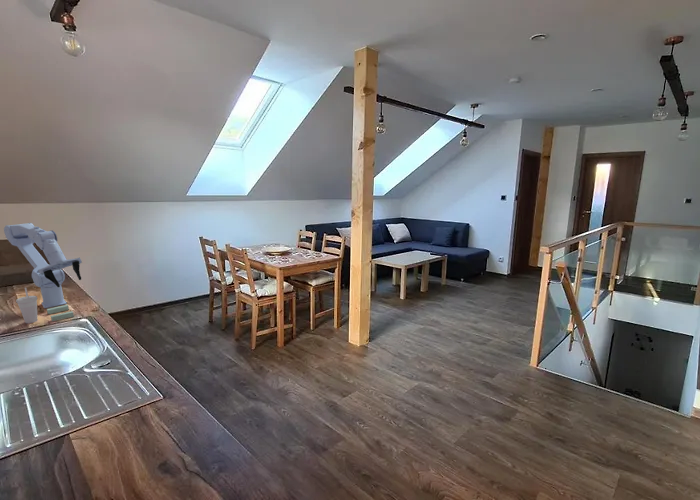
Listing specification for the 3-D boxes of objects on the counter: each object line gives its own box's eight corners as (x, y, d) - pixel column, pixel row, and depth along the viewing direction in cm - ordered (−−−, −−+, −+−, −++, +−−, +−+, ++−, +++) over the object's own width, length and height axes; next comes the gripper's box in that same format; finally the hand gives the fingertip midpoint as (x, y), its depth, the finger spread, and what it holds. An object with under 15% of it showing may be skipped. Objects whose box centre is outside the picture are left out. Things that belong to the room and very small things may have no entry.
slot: (47, 313, 155) (46, 309, 155) (68, 308, 160) (67, 304, 160) (52, 321, 146) (51, 317, 146) (73, 316, 151) (73, 312, 151)
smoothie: (29, 325, 143) (22, 290, 140) (16, 324, 144) (8, 289, 142) (46, 318, 149) (39, 285, 146) (33, 317, 151) (26, 284, 148)
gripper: (32, 257, 148) (47, 285, 146) (74, 245, 158) (89, 271, 156) (34, 265, 153) (49, 292, 151) (75, 253, 163) (89, 278, 161)
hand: (69, 282), depth 154 cm, fingers open, 7 cm apart
